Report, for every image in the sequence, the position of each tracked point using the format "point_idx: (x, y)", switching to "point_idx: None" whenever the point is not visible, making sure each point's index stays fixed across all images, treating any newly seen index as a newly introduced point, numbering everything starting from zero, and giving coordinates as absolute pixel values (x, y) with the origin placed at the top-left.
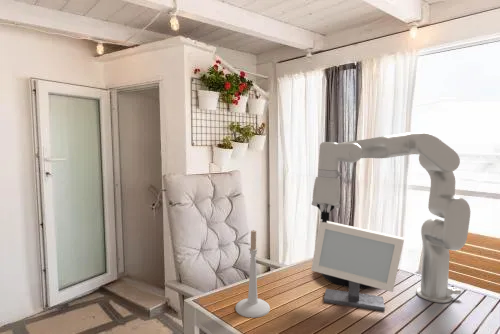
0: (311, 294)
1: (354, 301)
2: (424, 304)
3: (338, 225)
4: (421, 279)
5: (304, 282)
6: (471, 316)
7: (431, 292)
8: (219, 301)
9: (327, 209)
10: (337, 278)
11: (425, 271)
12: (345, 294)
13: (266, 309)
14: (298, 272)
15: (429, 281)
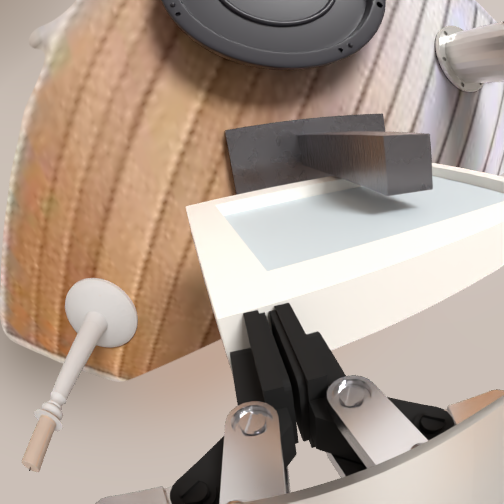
0: (188, 168)
1: (320, 175)
2: (449, 105)
3: (388, 324)
4: (466, 50)
5: (142, 99)
6: (498, 132)
7: (469, 79)
8: (36, 317)
9: (342, 467)
10: (250, 65)
11: (491, 63)
12: (290, 142)
13: (132, 319)
14: (103, 42)
15: (483, 74)
